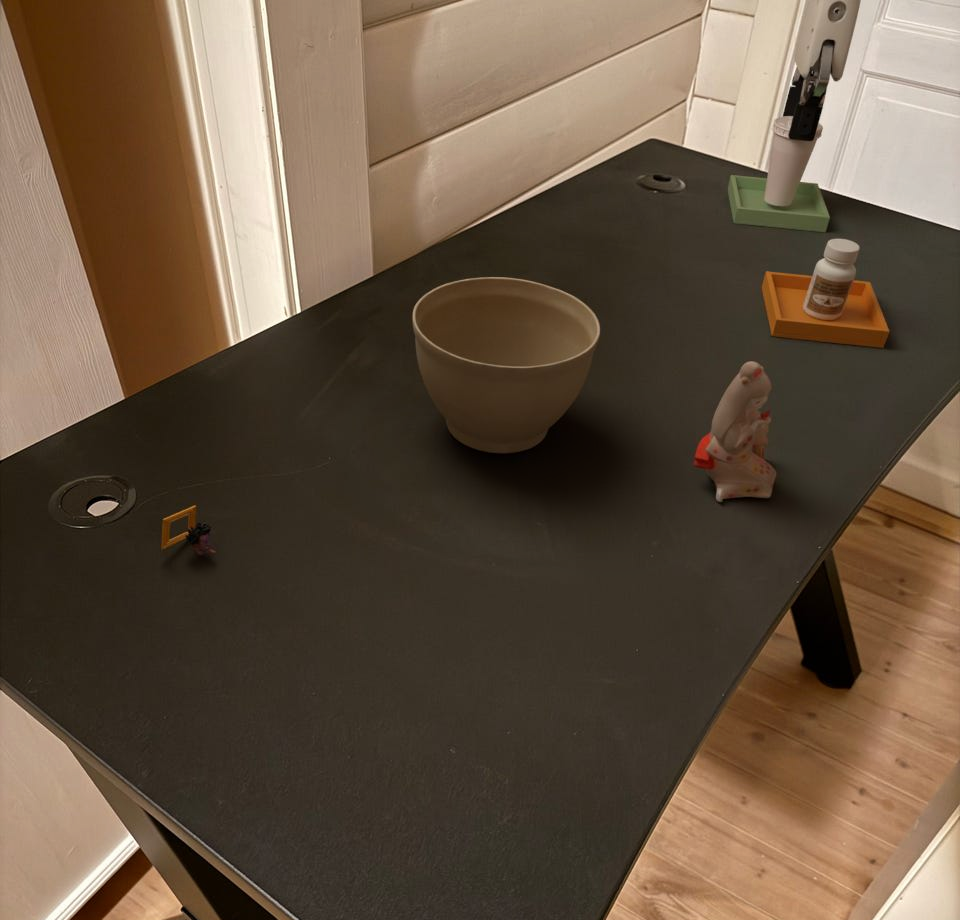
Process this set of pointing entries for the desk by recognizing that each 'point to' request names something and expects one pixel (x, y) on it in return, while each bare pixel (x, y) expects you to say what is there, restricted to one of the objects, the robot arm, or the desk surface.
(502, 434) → the planter bowl
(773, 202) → the smoothie
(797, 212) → the sage tray
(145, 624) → the desk surface
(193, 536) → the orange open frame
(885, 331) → the amber tray
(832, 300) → the pill bottle
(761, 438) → the figurine
